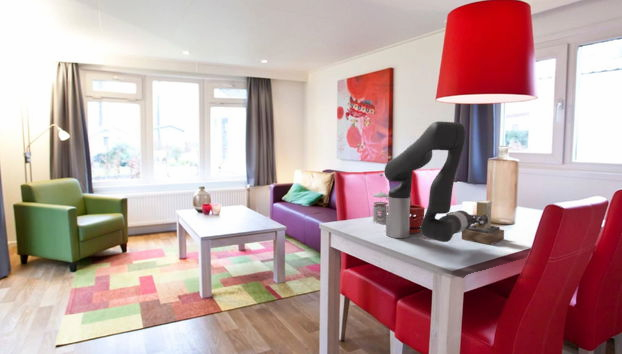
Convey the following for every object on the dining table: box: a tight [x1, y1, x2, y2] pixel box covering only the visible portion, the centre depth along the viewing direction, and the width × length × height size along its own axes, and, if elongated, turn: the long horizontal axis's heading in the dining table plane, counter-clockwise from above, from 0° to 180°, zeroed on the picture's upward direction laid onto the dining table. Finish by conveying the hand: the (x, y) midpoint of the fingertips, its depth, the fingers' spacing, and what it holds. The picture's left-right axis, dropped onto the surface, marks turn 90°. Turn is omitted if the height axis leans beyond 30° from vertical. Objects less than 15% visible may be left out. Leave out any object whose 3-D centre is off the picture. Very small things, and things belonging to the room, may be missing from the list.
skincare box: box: [475, 199, 492, 230], centre depth 159 cm, size 6×4×12 cm
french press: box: [371, 173, 389, 224], centre depth 195 cm, size 10×12×25 cm
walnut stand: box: [461, 224, 505, 246], centre depth 159 cm, size 12×13×5 cm
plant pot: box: [409, 204, 426, 234], centre depth 174 cm, size 13×13×12 cm
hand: (473, 215), depth 151 cm, fingers open, 8 cm apart
